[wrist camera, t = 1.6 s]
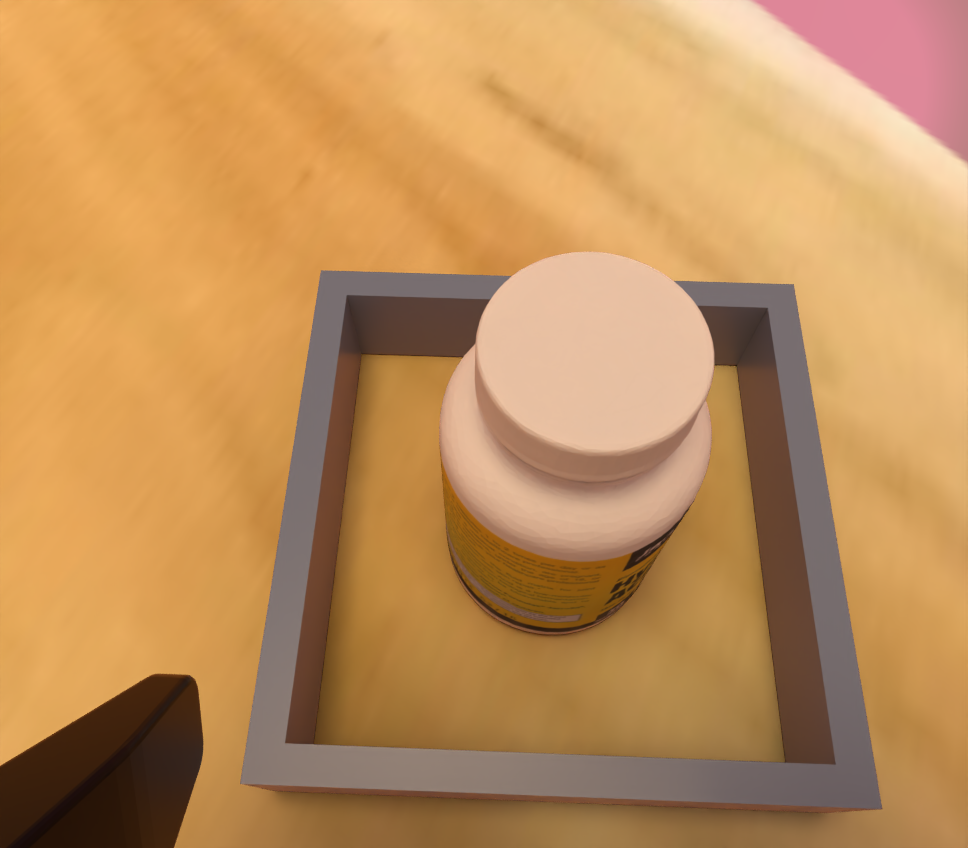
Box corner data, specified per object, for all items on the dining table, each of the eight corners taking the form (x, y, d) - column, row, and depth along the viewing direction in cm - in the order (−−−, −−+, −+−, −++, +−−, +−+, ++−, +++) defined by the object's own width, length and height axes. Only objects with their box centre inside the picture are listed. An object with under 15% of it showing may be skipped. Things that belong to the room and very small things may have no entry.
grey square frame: (826, 812, 19) (882, 809, 16) (274, 791, 19) (240, 784, 17) (760, 343, 25) (793, 284, 22) (338, 330, 25) (321, 270, 22)
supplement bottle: (614, 671, 20) (713, 548, 12) (417, 595, 21) (372, 428, 13) (671, 486, 23) (788, 268, 14) (490, 424, 24) (494, 182, 15)
